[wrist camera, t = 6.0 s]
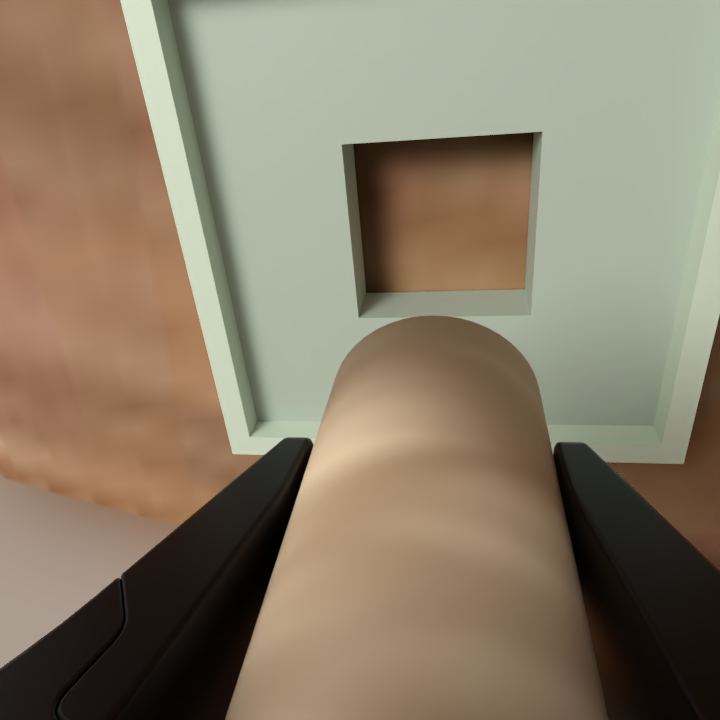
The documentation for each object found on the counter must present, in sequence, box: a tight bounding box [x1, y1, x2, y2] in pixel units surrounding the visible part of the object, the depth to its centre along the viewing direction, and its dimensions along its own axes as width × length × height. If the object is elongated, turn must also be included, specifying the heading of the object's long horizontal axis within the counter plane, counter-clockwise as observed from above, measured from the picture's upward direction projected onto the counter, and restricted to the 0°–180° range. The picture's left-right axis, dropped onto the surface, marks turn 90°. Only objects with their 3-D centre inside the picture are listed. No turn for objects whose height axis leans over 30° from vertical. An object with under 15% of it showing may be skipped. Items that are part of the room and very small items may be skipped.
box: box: [120, 0, 720, 464], centre depth 18 cm, size 16×16×3 cm
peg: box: [225, 315, 609, 720], centre depth 8 cm, size 4×4×6 cm
